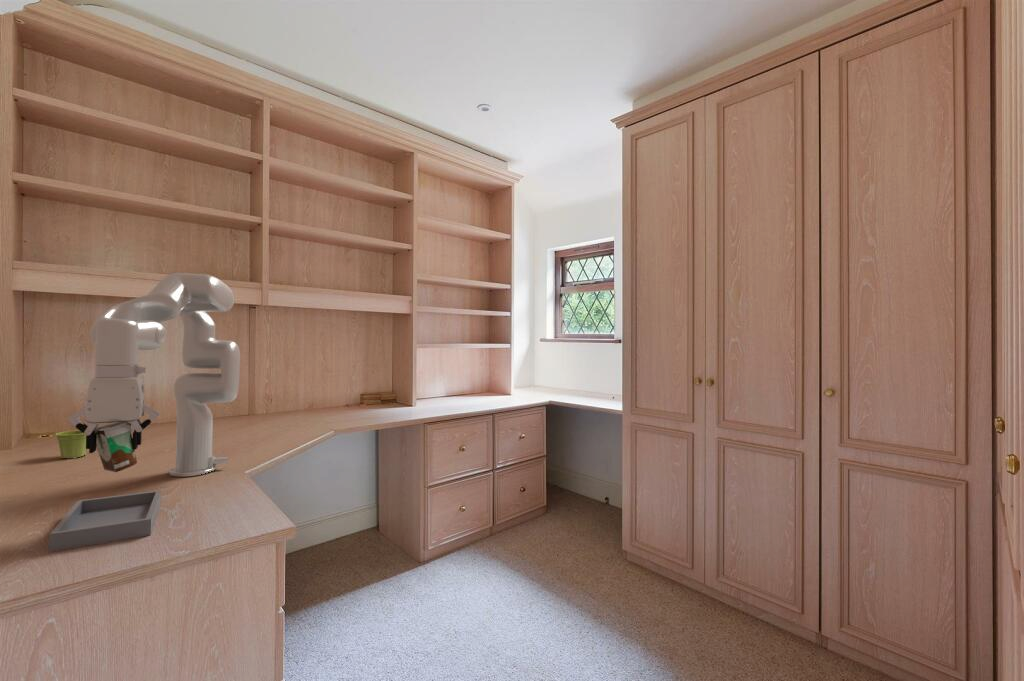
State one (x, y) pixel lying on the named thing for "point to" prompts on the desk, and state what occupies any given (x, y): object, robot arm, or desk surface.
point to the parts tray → (106, 520)
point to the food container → (115, 446)
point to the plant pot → (72, 443)
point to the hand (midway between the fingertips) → (114, 449)
